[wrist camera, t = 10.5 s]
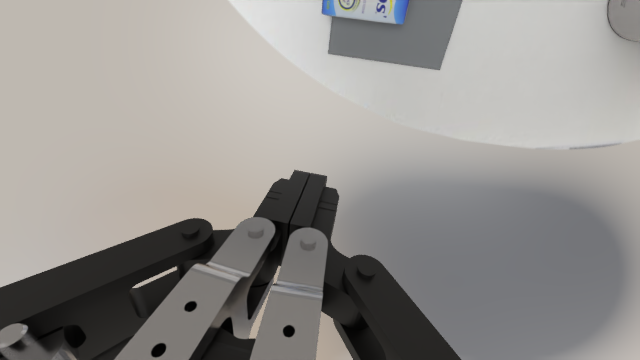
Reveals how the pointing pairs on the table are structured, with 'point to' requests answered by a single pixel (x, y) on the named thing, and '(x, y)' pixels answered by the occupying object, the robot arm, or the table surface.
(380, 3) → the medicine box
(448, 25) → the mat
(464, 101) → the table surface
